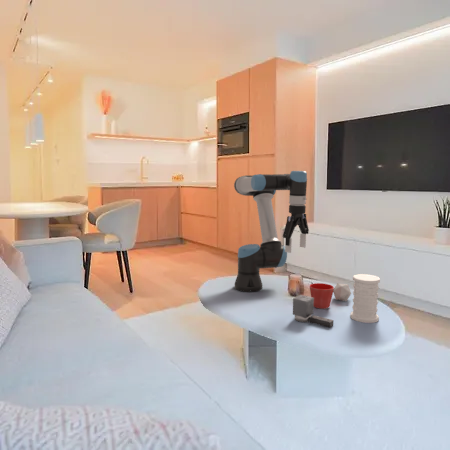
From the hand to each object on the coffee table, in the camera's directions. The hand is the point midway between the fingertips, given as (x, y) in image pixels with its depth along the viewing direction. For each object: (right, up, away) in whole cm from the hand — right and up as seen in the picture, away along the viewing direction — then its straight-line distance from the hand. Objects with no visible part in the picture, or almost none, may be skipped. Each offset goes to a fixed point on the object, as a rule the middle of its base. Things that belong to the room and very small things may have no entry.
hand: (295, 249), depth 182 cm
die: (+24, -25, +9) cm, 36 cm away
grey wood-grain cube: (0, -26, -16) cm, 31 cm away
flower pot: (+12, -27, 0) cm, 29 cm away
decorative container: (+27, -29, -14) cm, 42 cm away
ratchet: (+4, -29, -19) cm, 35 cm away
